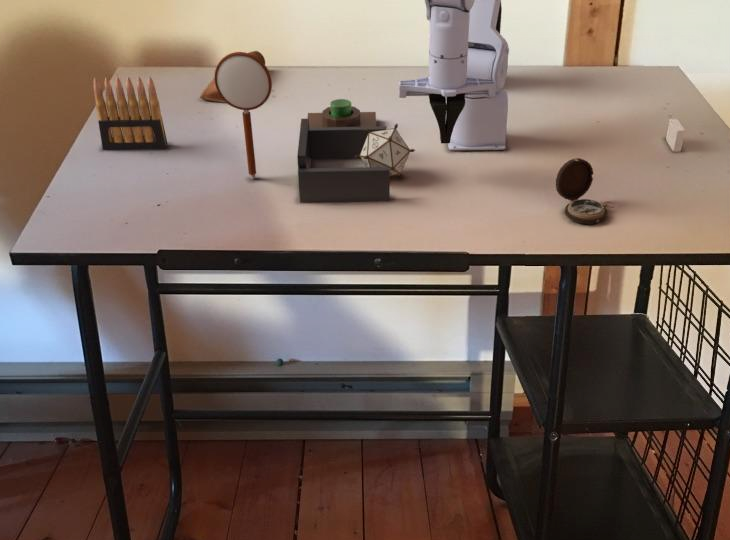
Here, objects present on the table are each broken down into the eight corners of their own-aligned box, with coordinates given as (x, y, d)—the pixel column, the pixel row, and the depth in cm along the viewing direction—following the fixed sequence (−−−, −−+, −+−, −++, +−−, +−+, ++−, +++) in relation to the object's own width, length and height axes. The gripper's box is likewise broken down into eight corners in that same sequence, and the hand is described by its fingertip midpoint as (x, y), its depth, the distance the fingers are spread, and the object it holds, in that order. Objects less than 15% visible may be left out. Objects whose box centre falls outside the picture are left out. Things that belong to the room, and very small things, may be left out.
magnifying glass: (225, 180, 148) (209, 53, 136) (228, 175, 150) (212, 49, 137) (278, 183, 147) (267, 55, 135) (280, 178, 149) (270, 51, 136)
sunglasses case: (224, 64, 187) (238, 36, 183) (255, 84, 189) (269, 56, 185) (197, 98, 173) (211, 68, 169) (231, 119, 175) (246, 90, 171)
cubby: (386, 154, 155) (386, 114, 151) (389, 200, 142) (389, 157, 138) (304, 156, 155) (301, 115, 151) (299, 202, 142) (296, 159, 138)
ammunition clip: (167, 144, 159) (156, 74, 151) (166, 149, 158) (154, 78, 150) (104, 145, 159) (90, 75, 151) (102, 150, 157) (87, 79, 150)
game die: (393, 202, 150) (406, 172, 141) (344, 180, 149) (354, 148, 140) (412, 157, 153) (426, 124, 143) (364, 136, 152) (375, 101, 143)
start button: (351, 110, 162) (351, 98, 161) (351, 118, 159) (351, 106, 158) (331, 110, 162) (330, 99, 161) (330, 118, 159) (330, 107, 158)
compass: (579, 229, 135) (586, 182, 131) (550, 205, 141) (556, 160, 136) (625, 218, 138) (633, 172, 133) (595, 195, 143) (602, 150, 139)
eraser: (673, 151, 156) (677, 130, 153) (665, 139, 159) (669, 118, 157) (680, 151, 156) (685, 130, 153) (672, 139, 159) (677, 118, 157)
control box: (375, 120, 166) (375, 101, 164) (376, 141, 159) (376, 122, 157) (308, 122, 166) (307, 102, 164) (306, 143, 159) (305, 123, 157)
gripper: (400, 62, 133) (399, 152, 142) (501, 61, 134) (494, 150, 142) (398, 46, 139) (397, 133, 147) (495, 44, 139) (489, 132, 148)
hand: (445, 140), depth 145 cm, fingers closed
